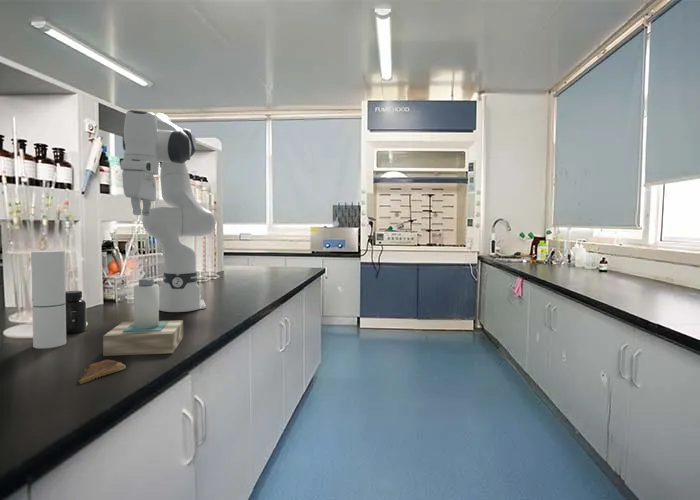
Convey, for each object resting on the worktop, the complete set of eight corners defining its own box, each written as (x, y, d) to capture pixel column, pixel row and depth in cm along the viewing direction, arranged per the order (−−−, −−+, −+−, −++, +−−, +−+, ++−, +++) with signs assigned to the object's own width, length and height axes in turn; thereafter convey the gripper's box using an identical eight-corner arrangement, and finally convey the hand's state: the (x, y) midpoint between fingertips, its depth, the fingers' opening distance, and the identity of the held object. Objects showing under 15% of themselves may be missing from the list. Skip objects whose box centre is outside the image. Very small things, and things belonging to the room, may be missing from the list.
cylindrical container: (63, 339, 115) (61, 250, 114) (68, 345, 110) (67, 251, 109) (31, 344, 110) (29, 250, 109) (35, 350, 105) (33, 252, 104)
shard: (78, 387, 83) (78, 378, 83) (55, 380, 87) (55, 372, 87) (127, 371, 93) (127, 363, 93) (105, 365, 96) (105, 358, 96)
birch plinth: (122, 339, 116) (122, 320, 116) (183, 337, 120) (183, 319, 119) (103, 356, 102) (103, 334, 101) (172, 353, 105) (172, 332, 105)
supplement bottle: (56, 335, 119) (55, 294, 119) (61, 329, 125) (61, 290, 125) (84, 333, 122) (83, 293, 121) (88, 327, 128) (87, 289, 128)
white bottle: (137, 324, 113) (137, 278, 112) (161, 323, 114) (160, 278, 113) (130, 329, 107) (130, 281, 106) (155, 328, 108) (155, 281, 108)
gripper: (139, 171, 128) (139, 215, 129) (117, 161, 108) (118, 214, 109) (161, 172, 130) (161, 216, 130) (143, 162, 110) (144, 214, 110)
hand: (141, 215), depth 120 cm, fingers open, 8 cm apart
